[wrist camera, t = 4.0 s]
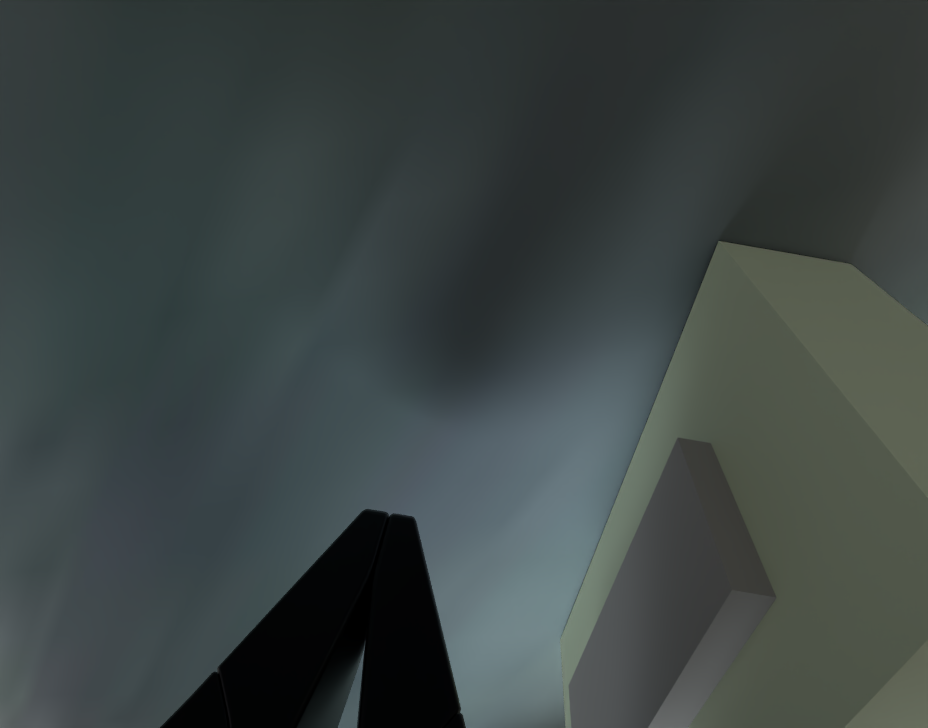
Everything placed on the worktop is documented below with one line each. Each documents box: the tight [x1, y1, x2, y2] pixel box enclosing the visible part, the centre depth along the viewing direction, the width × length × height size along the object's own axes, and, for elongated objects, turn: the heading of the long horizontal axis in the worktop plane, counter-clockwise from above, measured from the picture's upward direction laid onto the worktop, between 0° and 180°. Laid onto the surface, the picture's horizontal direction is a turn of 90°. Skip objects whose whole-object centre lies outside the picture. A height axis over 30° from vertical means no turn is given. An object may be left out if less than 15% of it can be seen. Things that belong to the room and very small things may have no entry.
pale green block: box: [560, 241, 928, 728], centre depth 9 cm, size 2×10×6 cm, turn 171°
